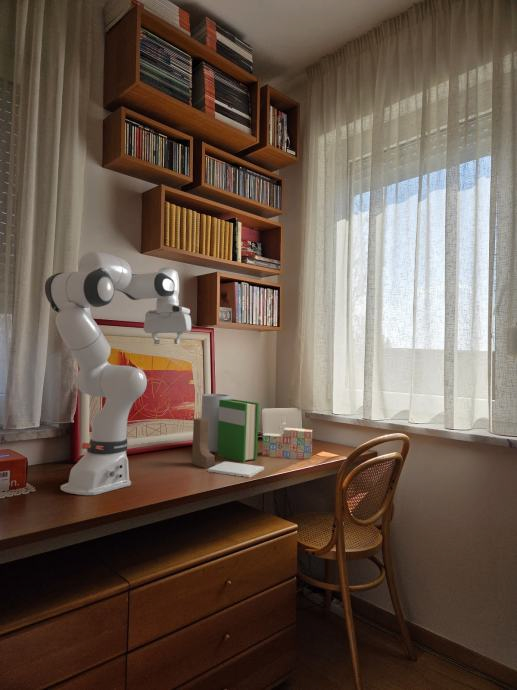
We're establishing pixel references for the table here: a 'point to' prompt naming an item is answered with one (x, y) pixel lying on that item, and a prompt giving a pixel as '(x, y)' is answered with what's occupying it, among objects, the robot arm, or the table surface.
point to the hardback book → (238, 429)
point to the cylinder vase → (212, 417)
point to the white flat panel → (236, 469)
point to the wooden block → (201, 444)
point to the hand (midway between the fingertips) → (166, 344)
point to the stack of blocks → (288, 444)
